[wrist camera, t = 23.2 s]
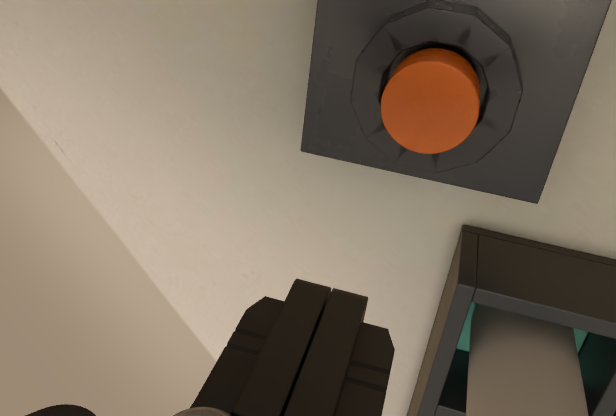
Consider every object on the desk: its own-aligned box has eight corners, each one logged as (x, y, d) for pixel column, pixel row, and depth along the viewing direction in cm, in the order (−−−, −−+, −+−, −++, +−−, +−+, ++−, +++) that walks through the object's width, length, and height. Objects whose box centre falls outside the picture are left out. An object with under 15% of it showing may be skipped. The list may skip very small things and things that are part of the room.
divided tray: (403, 427, 37) (391, 499, 33) (462, 224, 29) (457, 283, 25) (661, 505, 34) (685, 594, 30) (804, 303, 26) (865, 385, 22)
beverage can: (455, 297, 30) (435, 503, 20) (548, 268, 28) (578, 484, 18) (494, 364, 32) (494, 590, 22) (586, 342, 29) (634, 582, 19)
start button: (381, 125, 24) (373, 144, 23) (397, 39, 23) (389, 52, 21) (467, 143, 24) (465, 163, 22) (491, 56, 22) (490, 71, 20)
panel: (309, 138, 29) (289, 167, 26) (333, -57, 25) (311, -49, 22) (535, 187, 27) (540, 224, 24) (607, -15, 23) (624, 0, 20)
